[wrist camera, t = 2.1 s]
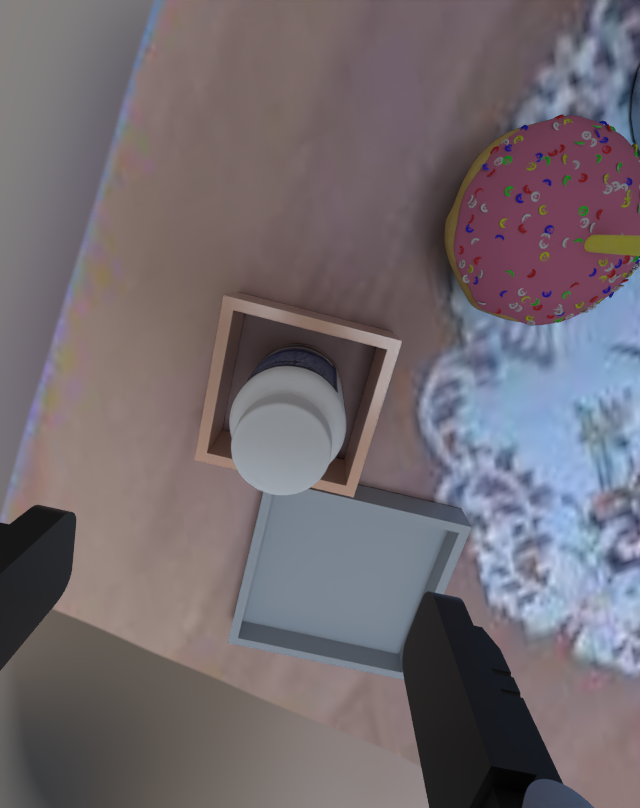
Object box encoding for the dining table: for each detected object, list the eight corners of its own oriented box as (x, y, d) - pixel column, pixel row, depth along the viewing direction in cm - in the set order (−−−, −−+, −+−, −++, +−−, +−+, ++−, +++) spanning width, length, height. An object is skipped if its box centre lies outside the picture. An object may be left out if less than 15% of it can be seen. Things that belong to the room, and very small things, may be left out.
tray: (271, 464, 27) (266, 479, 25) (461, 508, 28) (471, 527, 26) (234, 618, 31) (227, 642, 29) (402, 655, 32) (407, 680, 30)
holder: (238, 292, 24) (223, 295, 21) (392, 331, 25) (402, 341, 21) (211, 436, 27) (194, 460, 23) (350, 470, 27) (353, 497, 24)
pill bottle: (239, 362, 25) (187, 415, 16) (321, 328, 25) (317, 362, 15) (276, 439, 27) (248, 529, 17) (354, 409, 26) (369, 485, 17)
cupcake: (617, 224, 23) (914, 175, 11) (502, 346, 25) (652, 410, 13) (505, 109, 21) (716, -84, 10) (392, 249, 23) (456, 226, 12)
